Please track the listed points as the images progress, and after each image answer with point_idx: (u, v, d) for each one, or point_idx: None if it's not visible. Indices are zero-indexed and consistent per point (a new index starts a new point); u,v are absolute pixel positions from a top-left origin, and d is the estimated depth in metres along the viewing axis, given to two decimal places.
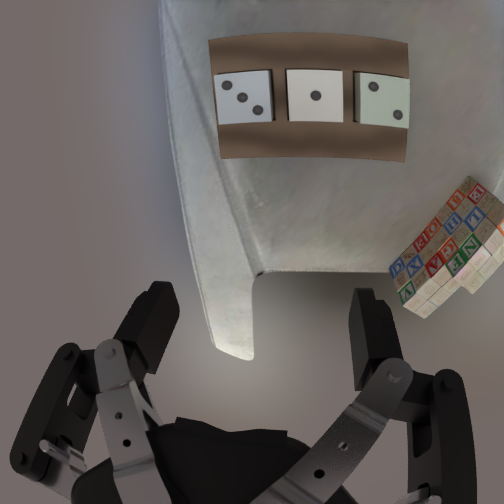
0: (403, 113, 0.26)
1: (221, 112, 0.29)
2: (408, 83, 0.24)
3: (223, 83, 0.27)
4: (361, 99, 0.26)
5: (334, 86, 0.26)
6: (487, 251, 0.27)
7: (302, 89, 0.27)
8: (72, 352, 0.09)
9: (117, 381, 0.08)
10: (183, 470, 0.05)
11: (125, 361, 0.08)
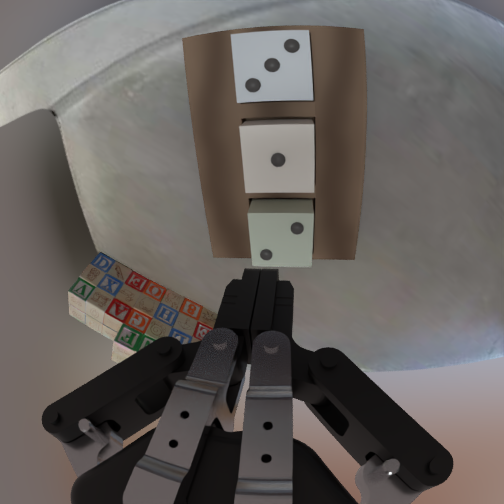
0: (268, 260, 0.29)
1: (249, 37, 0.17)
2: (306, 265, 0.28)
3: (294, 41, 0.17)
4: (278, 214, 0.26)
5: (293, 182, 0.24)
6: None
7: (286, 143, 0.22)
8: (171, 347, 0.09)
9: (209, 377, 0.08)
10: (206, 494, 0.05)
11: (230, 361, 0.08)
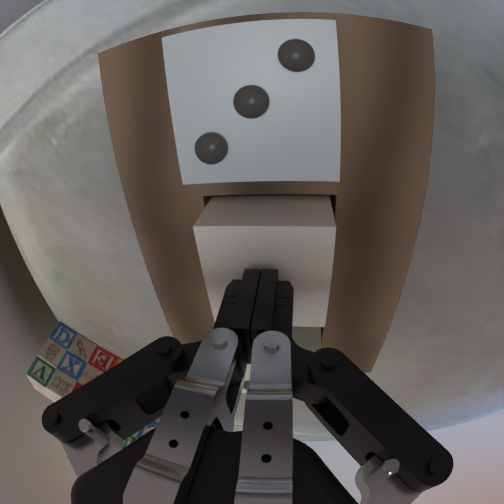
0: None
1: (200, 39, 0.08)
2: None
3: (303, 44, 0.07)
4: None
5: None
6: None
7: (280, 258, 0.12)
8: (171, 347, 0.09)
9: (209, 377, 0.08)
10: (206, 494, 0.05)
11: (230, 361, 0.08)
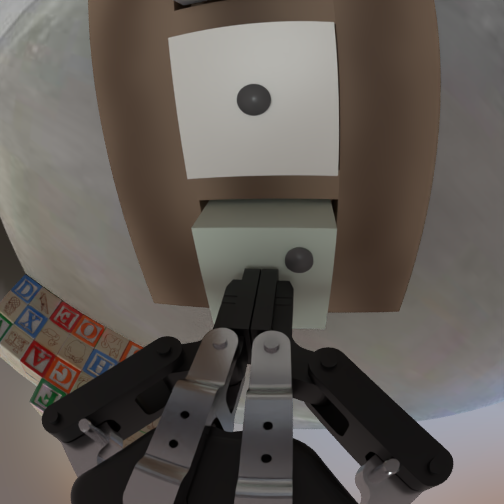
0: None
1: None
2: (315, 326, 0.14)
3: None
4: (258, 229, 0.12)
5: (290, 152, 0.10)
6: None
7: (271, 62, 0.08)
8: (171, 347, 0.09)
9: (209, 377, 0.08)
10: (206, 494, 0.05)
11: (230, 361, 0.08)
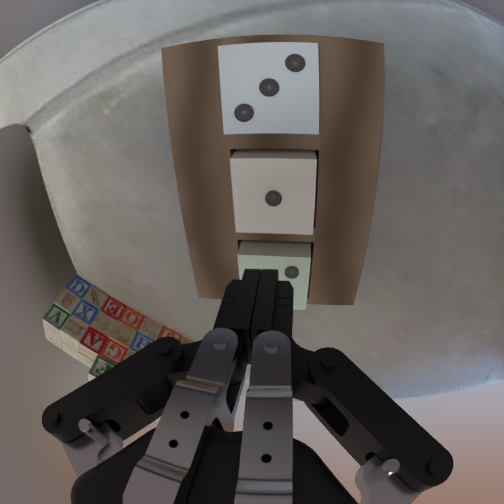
0: None
1: (241, 50, 0.14)
2: (300, 308, 0.26)
3: (299, 57, 0.14)
4: (271, 257, 0.23)
5: (289, 223, 0.22)
6: None
7: (283, 180, 0.20)
8: (171, 347, 0.09)
9: (209, 377, 0.08)
10: (206, 494, 0.05)
11: (230, 361, 0.08)
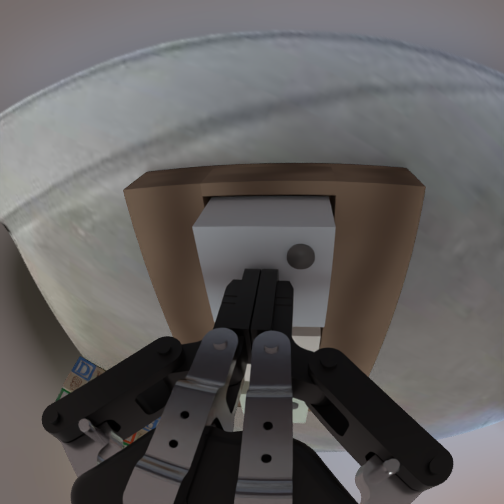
0: None
1: (225, 235, 0.12)
2: (300, 422, 0.24)
3: (306, 247, 0.12)
4: None
5: None
6: None
7: None
8: (171, 347, 0.09)
9: (209, 377, 0.08)
10: (206, 494, 0.05)
11: (230, 361, 0.08)
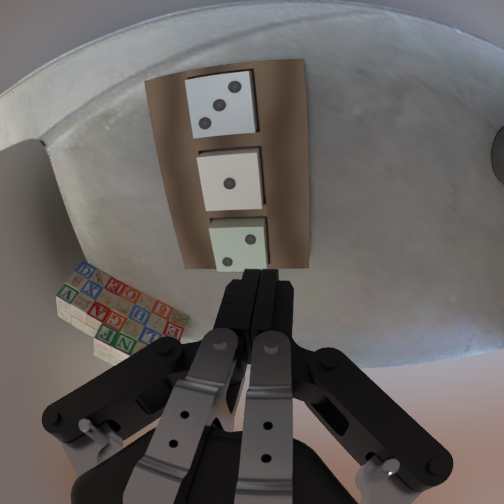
0: (230, 266, 0.34)
1: (199, 82, 0.22)
2: None
3: (237, 82, 0.22)
4: (234, 228, 0.31)
5: (243, 201, 0.29)
6: None
7: (235, 169, 0.27)
8: (171, 347, 0.09)
9: (209, 377, 0.08)
10: (206, 494, 0.05)
11: (230, 361, 0.08)
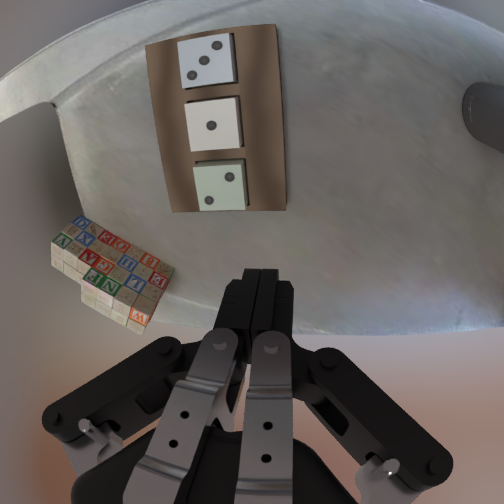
0: (211, 205, 0.36)
1: (189, 43, 0.25)
2: (241, 208, 0.36)
3: (219, 42, 0.24)
4: (215, 166, 0.33)
5: (223, 141, 0.31)
6: (112, 303, 0.40)
7: (216, 113, 0.29)
8: (171, 347, 0.09)
9: (209, 377, 0.08)
10: (206, 494, 0.05)
11: (230, 361, 0.08)
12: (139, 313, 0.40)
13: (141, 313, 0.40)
